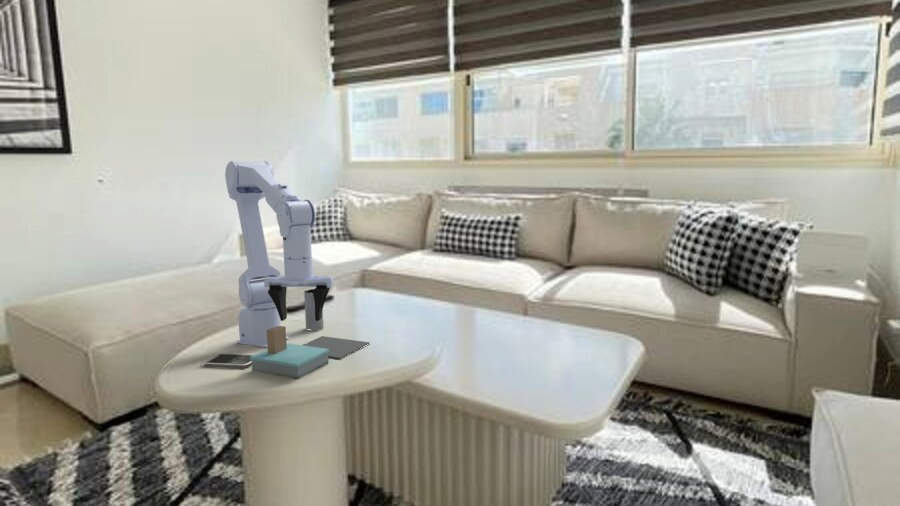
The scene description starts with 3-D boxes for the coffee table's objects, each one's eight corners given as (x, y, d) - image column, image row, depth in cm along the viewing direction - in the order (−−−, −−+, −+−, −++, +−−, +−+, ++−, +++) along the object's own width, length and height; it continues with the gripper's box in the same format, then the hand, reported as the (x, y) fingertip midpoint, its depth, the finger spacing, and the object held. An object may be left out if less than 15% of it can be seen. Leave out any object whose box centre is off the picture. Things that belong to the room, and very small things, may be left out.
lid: (250, 363, 114) (248, 333, 113) (284, 348, 124) (282, 321, 123) (297, 371, 109) (296, 340, 108) (329, 355, 119) (328, 326, 118)
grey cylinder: (319, 331, 143) (317, 292, 142) (303, 330, 144) (301, 292, 143) (326, 326, 148) (324, 289, 146) (310, 326, 148) (308, 288, 147)
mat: (290, 351, 127) (290, 350, 127) (322, 337, 138) (322, 336, 137) (340, 359, 121) (340, 357, 121) (369, 344, 132) (369, 342, 132)
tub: (252, 370, 115) (251, 359, 114) (284, 356, 124) (284, 345, 123) (298, 378, 110) (297, 366, 109) (328, 363, 119) (328, 352, 118)
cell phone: (247, 371, 116) (246, 364, 116) (199, 368, 118) (198, 362, 117) (261, 361, 122) (261, 355, 122) (216, 359, 124) (215, 353, 123)
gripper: (256, 260, 113) (260, 324, 115) (326, 260, 112) (329, 324, 114) (269, 255, 120) (273, 315, 122) (335, 255, 119) (337, 316, 121)
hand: (301, 319), depth 118 cm, fingers open, 7 cm apart
